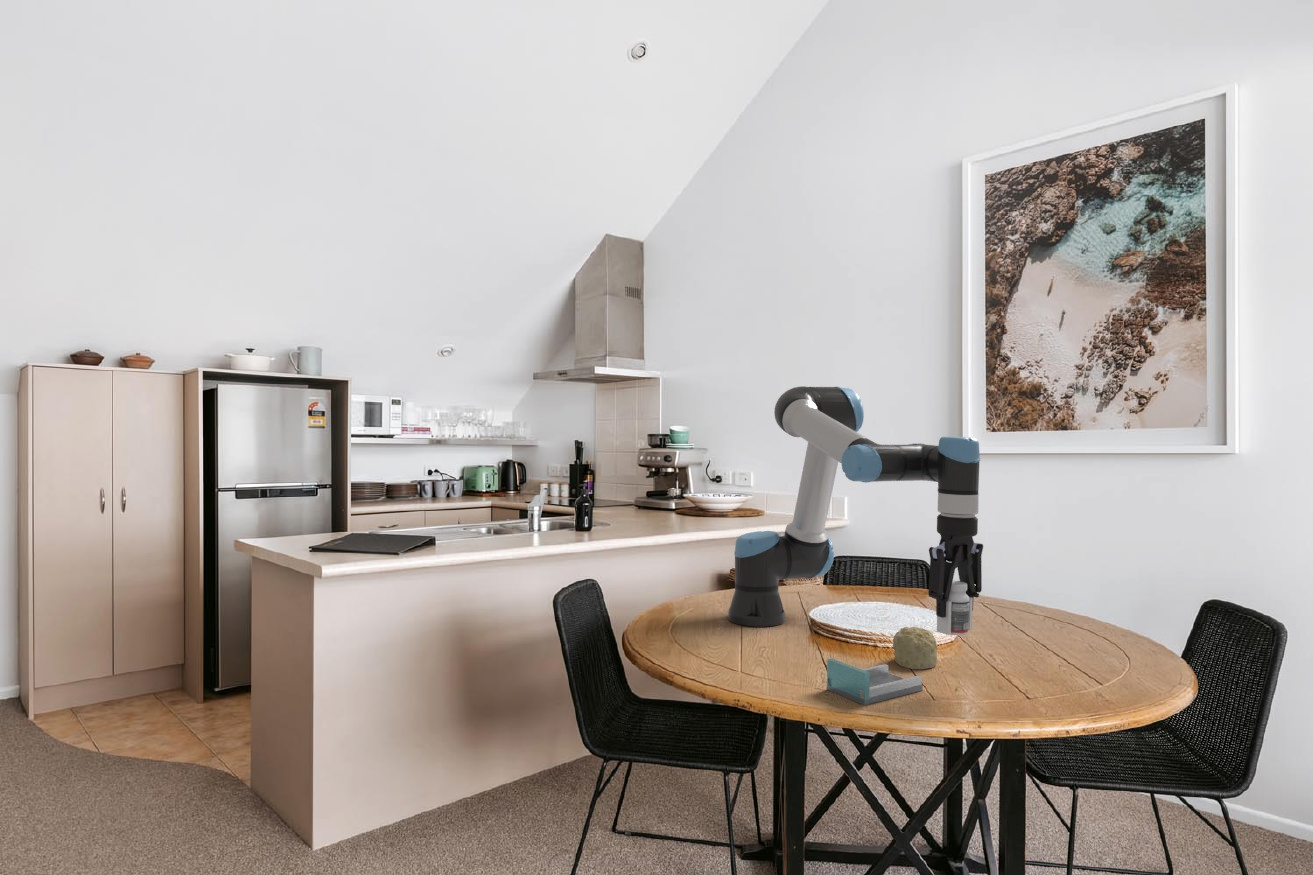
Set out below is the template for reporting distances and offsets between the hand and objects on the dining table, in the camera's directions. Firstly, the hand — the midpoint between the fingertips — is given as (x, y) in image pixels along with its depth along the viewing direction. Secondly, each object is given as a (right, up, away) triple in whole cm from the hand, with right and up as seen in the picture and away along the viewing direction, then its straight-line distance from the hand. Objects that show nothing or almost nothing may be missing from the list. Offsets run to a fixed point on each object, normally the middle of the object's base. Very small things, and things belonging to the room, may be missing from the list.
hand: (954, 630), depth 152 cm
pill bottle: (0, -1, 0) cm, 1 cm away
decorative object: (-2, -12, +17) cm, 21 cm away
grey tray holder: (-16, -12, -1) cm, 20 cm away
